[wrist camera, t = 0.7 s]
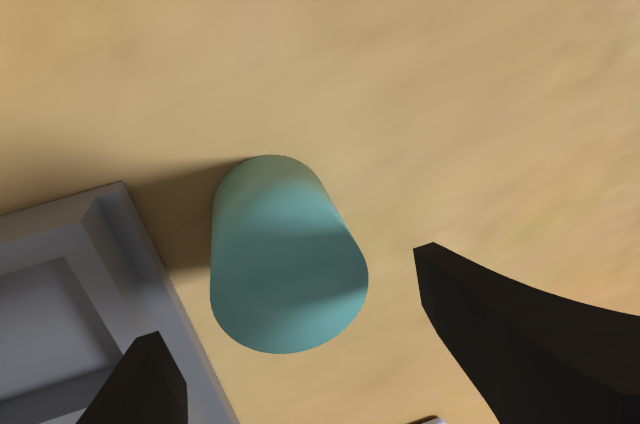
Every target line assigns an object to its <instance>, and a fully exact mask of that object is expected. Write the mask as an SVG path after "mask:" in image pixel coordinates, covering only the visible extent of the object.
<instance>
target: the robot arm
mask: <svg viewBox="0 0 640 424" xmlns="http://www.w3.org/2000/svg"><path fill="white" fill-rule="evenodd" d="M413 252H414V259H415V265H416V271H417V278H418V284H419V290H420V297H421V303H422V306H423V308H424V310H425V312H426V314H427V316H428V318H429V320H430V321H431V323H432V325H433V327H434V329H435V330H436V332H437V334H438V336H439V337H440V338H441V340H442V341H443V343H444V344H445V345H446V347H447V348H448V350H449V351H450V352H451V354H452V355H453V357H454V358H455V359H456V361H457V362H458V364H459V365H460V366H461V368H462V369H463V370H464V372H465V373H466V375H467V376H468V377H469V379H470V380H471V381H472V383H473V384H474V386H475V387H476V388H477V390H478V391H479V392H480V394H481V395H482V397H483V398H484V399H485V401H486V402H487V404H488V405H489V407H490V408H491V410H492V411H493V413H494V414H495V416H496V418H497V420H498V421H499V423H500V424H640V316H636V315H631V314H626V313H621V312H617V311H612V310H608V309H604V308H600V307H596V306H592V305H588V304H584V303H580V302H577V301H573V300H570V299H567V298H563V297H560V296H557V295H554V294H551V293H548V292H544V291H542V290H539V289H536V288H533V287H530V286H528V285H525V284H523V283H520V282H518V281H515V280H513V279H510V278H508V277H506V276H503V275H501V274H499V273H496V272H494V271H492V270H490V269H487V268H485V267H483V266H481V265H479V264H477V263H475V262H473V261H471V260H469V259H467V258H465V257H463V256H461V255H459V254H457V253H455V252H453V251H451V250H449V249H447V248H445V247H443V246H441V245H439V244H436V243H434V242H432V243H429V244H426V245H423V246H420V247H417V248H413ZM75 424H188V397H187V383H186V381H185V379H184V377H183V375H182V373H181V372H180V370H179V368H178V366H177V364H176V362H175V360H174V358H173V357H172V355H171V353H170V351H169V349H168V347H167V345H166V343H165V342H164V340H163V338H162V336H161V334H160V332H159V330H158V331H155V332H152V333H149V334H146V335H143V336H140V337H137V338H135V340H134V341H133V342H132V344H131V345H130V347H129V348H128V349H127V351H126V352H125V354H124V355H123V357H122V358H121V360H120V361H119V363H118V364H117V366H116V367H115V369H114V370H113V372H112V373H111V375H110V376H109V377H108V379H107V380H106V382H105V383H104V385H103V386H102V388H101V389H100V391H99V392H98V393H97V395H96V396H95V398H94V399H93V401H92V402H91V403H90V405H89V406H88V407H87V409H86V410H85V411H84V413H83V414H82V415H81V417H80V418H79V419H78V421H77V422H76V423H75ZM422 424H446V422H445V420H444V419H443V418H436V419H433V420H430V421H427V422H425V423H422Z"/></svg>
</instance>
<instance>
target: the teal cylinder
mask: <svg viewBox="0 0 640 424" xmlns="http://www.w3.org/2000/svg"><path fill="white" fill-rule="evenodd" d="M367 289H368V269H367V265H366V262H365V259H364V257H363V255H362V253H361V251H360V249H359V247H358V245H357V244H356V242H355V240H354V238H353V237H352V235H351V233H350V232H349V230H348V228H347V226H346V225H345V223H344V221H343V219H342V218H341V216H340V214H339V213H338V211H337V209H336V207H335V206H334V204H333V202H332V200H331V199H330V197H329V195H328V193H327V192H326V190H325V188H324V187H323V185H322V183H321V181H320V180H319V178H318V177H317V175H316V174H315V173H314V172H313V171H312V170H311V169H310V168H309V167H307V166H306V165H305V164H303V163H301V162H300V161H298V160H295V159H293V158H290V157H286V156H281V155H263V156H258V157H254V158H251V159H248V160H246V161H244V162H242V163H240V164H239V165H237V166H236V167H234V168H233V169H232V170H231V171H230V172H228V173H227V174H226V176H225V177H224V178H223V179H222V181H221V182H220V184H219V186H218V188H217V190H216V192H215V195H214V199H213V206H212V238H211V272H210V302H211V308H212V311H213V314H214V316H215V318H216V320H217V322H218V324H219V325H220V326H221V328H222V329H223V330H224V331H225V332H226V333H227V334H228V335H229V336H230V337H231V338H232V339H234V340H235V341H236V342H238V343H240V344H242V345H244V346H245V347H248V348H250V349H253V350H256V351H260V352H265V353H272V354H287V353H295V352H301V351H305V350H308V349H312V348H314V347H317V346H319V345H321V344H323V343H325V342H327V341H329V340H331V339H332V338H334V337H335V336H337V335H338V334H339V333H340V332H342V331H343V330H344V329H345V328H346V327H347V326H348V325H349V324H350V323H351V322H352V321H353V319H354V318H355V317H356V315H357V314H358V312H359V311H360V309H361V307H362V305H363V303H364V300H365V297H366V294H367Z"/></svg>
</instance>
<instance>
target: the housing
mask: <svg viewBox="0 0 640 424" xmlns="http://www.w3.org/2000/svg"><path fill="white" fill-rule="evenodd" d="M158 330H159V332H160V334H161V336H162V338H163V340H164V342H165V343H166V345H167V347H168V349H169V351H170V353H171V355H172V357H173V358H174V360H175V362H176V364H177V366H178V368H179V370H180V372H181V373H182V375H183V377H184V379H185V381H186V383H187V397H188V424H240V423H239V421H238V419H237V417H236V415H235V413H234V411H233V409H232V407H231V405H230V403H229V400H228V398H227V396H226V394H225V392H224V390H223V388H222V386H221V384H220V382H219V380H218V378H217V376H216V373H215V371H214V369H213V367H212V365H211V363H210V361H209V359H208V357H207V355H206V353H205V351H204V348H203V346H202V344H201V342H200V340H199V338H198V336H197V334H196V332H195V330H194V328H193V326H192V323H191V321H190V319H189V317H188V315H187V313H186V311H185V309H184V307H183V305H182V303H181V301H180V299H179V296H178V294H177V292H176V290H175V288H174V286H173V284H172V282H171V280H170V278H169V276H168V274H167V271H166V269H165V267H164V265H163V263H162V261H161V259H160V257H159V255H158V253H157V251H156V249H155V246H154V244H153V242H152V240H151V238H150V236H149V234H148V232H147V230H146V228H145V226H144V224H143V222H142V219H141V217H140V215H139V213H138V211H137V209H136V207H135V205H134V203H133V201H132V199H131V197H130V194H129V192H128V190H127V188H126V186H125V184H124V182H123V181H120V182H116V183H113V184H109V185H106V186H102V187H99V188H95V189H92V190H89V191H85V192H82V193H78V194H75V195H71V196H68V197H65V198H61V199H58V200H54V201H51V202H47V203H44V204H41V205H37V206H34V207H30V208H27V209H23V210H20V211H16V212H13V213H10V214H6V215H3V216H0V424H75V423H76V422H77V421H78V419H79V418H80V417H81V415H82V414H83V413H84V411H85V410H86V409H87V407H88V406H89V405H90V403H91V402H92V401H93V399H94V398H95V396H96V395H97V393H98V392H99V391H100V389H101V388H102V386H103V385H104V383H105V382H106V380H107V379H108V377H109V376H110V375H111V373H112V372H113V370H114V369H115V367H116V366H117V364H118V363H119V361H120V360H121V358H122V357H123V355H124V354H125V352H126V351H127V349H128V348H129V347H130V345H131V344H132V342H133V341H134V340H135V338H137V337H140V336H143V335H146V334H149V333H152V332H155V331H158Z"/></svg>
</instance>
